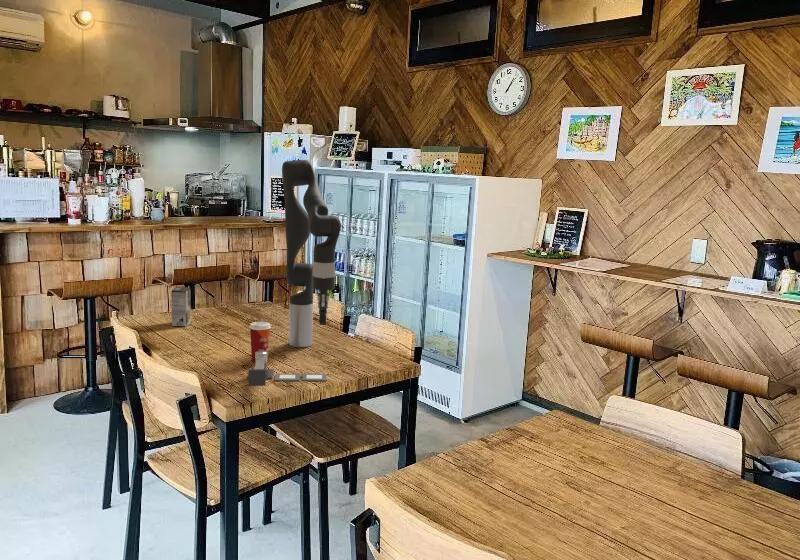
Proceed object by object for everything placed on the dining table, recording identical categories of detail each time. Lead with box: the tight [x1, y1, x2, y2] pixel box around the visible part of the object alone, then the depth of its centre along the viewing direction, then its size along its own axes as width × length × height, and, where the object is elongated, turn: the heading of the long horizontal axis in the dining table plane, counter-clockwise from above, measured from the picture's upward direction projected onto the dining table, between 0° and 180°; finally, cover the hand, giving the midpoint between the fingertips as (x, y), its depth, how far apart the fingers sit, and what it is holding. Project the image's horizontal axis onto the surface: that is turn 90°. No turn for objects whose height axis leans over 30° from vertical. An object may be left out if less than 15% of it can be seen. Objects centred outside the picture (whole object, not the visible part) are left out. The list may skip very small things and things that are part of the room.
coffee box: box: [170, 286, 192, 328], centre depth 267 cm, size 9×6×16 cm
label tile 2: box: [301, 373, 327, 382], centre depth 207 cm, size 6×8×1 cm
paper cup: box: [248, 321, 272, 364], centre depth 222 cm, size 8×8×14 cm
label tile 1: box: [274, 373, 301, 382], centre depth 206 cm, size 6×8×1 cm
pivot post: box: [247, 363, 275, 380], centre depth 207 cm, size 8×8×4 cm
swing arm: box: [248, 351, 268, 387], centre depth 198 cm, size 23×5×5 cm, turn 9°
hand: (322, 324), depth 208 cm, fingers closed
